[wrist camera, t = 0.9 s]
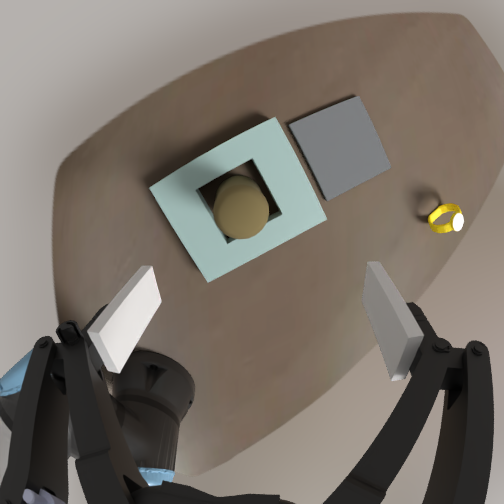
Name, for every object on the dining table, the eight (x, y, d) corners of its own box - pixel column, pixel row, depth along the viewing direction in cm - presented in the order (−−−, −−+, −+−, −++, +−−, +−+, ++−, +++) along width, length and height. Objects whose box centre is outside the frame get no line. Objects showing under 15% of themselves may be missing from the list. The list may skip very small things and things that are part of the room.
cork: (209, 182, 33) (198, 190, 23) (256, 170, 33) (267, 173, 23) (222, 227, 35) (217, 255, 25) (267, 215, 35) (282, 238, 25)
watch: (441, 197, 36) (466, 202, 30) (446, 211, 37) (470, 217, 31) (420, 218, 36) (445, 225, 31) (426, 232, 37) (450, 241, 32)
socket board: (209, 274, 37) (208, 282, 35) (154, 186, 33) (149, 187, 30) (320, 215, 36) (326, 219, 33) (272, 120, 31) (275, 116, 29)
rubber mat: (325, 200, 35) (327, 201, 34) (288, 125, 32) (289, 124, 31) (389, 167, 34) (391, 167, 33) (356, 96, 31) (358, 95, 30)
